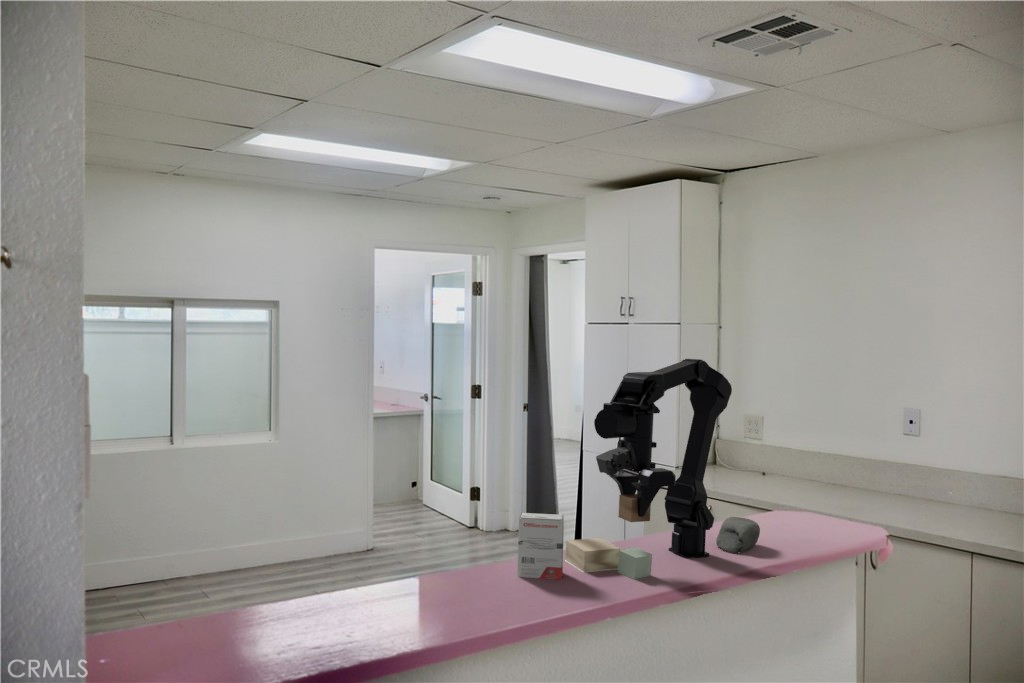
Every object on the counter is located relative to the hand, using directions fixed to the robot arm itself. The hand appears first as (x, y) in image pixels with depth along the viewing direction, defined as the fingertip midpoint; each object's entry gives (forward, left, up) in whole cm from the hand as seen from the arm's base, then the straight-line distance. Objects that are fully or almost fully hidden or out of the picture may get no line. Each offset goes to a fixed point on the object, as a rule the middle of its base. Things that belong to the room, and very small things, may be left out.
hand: (634, 513), depth 156 cm
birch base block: (+7, -5, -11) cm, 14 cm away
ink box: (+20, -2, -12) cm, 23 cm away
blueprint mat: (+7, -5, -11) cm, 14 cm away
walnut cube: (0, 0, -1) cm, 1 cm away
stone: (-33, -8, -12) cm, 35 cm away
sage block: (+2, +3, -11) cm, 12 cm away
